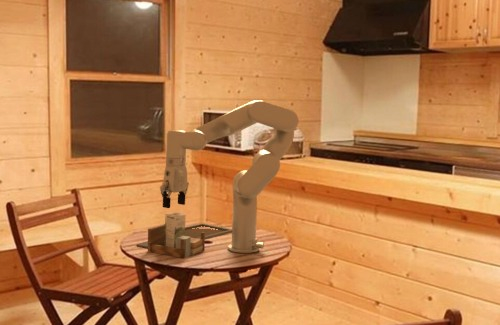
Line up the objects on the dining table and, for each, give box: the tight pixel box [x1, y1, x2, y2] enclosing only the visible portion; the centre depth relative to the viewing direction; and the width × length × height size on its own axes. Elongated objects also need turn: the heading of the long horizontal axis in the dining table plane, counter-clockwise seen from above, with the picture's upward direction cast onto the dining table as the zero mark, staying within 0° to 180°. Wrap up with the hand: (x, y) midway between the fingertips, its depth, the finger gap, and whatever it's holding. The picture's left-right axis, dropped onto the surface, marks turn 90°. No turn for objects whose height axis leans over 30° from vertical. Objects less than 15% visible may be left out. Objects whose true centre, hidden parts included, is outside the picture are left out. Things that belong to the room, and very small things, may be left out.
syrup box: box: [164, 212, 186, 248], centre depth 227 cm, size 6×6×14 cm
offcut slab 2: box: [190, 246, 204, 256], centre depth 226 cm, size 5×6×2 cm
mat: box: [136, 240, 148, 249], centre depth 234 cm, size 7×7×1 cm
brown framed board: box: [185, 222, 232, 240], centre depth 259 cm, size 19×2×30 cm
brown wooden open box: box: [147, 223, 206, 259], centre depth 227 cm, size 16×16×9 cm
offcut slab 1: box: [191, 238, 203, 249], centre depth 226 cm, size 5×6×2 cm
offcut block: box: [176, 236, 191, 258], centre depth 221 cm, size 4×4×7 cm
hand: (173, 205), depth 226 cm, fingers open, 9 cm apart
